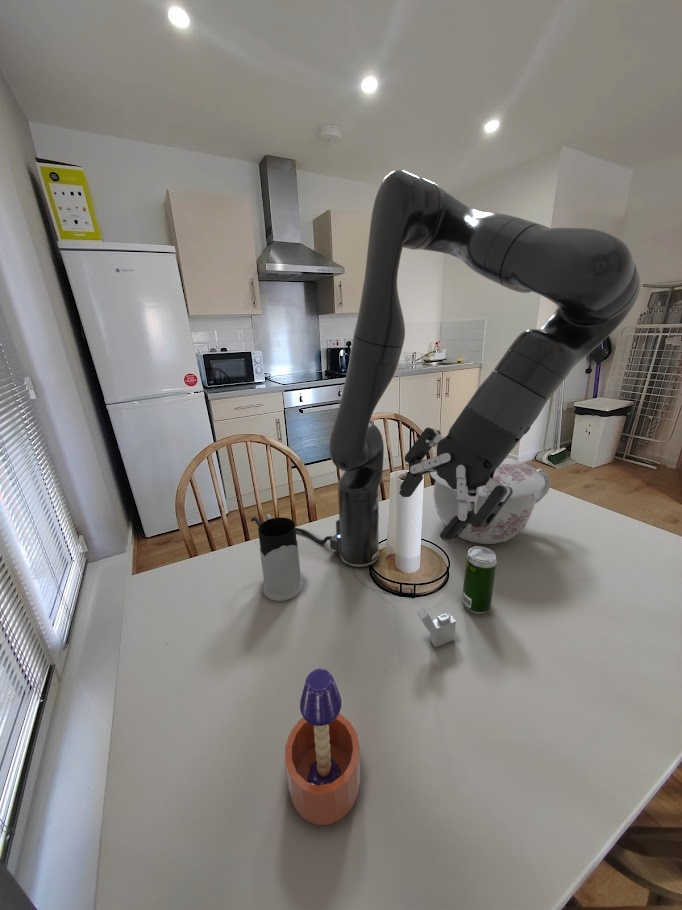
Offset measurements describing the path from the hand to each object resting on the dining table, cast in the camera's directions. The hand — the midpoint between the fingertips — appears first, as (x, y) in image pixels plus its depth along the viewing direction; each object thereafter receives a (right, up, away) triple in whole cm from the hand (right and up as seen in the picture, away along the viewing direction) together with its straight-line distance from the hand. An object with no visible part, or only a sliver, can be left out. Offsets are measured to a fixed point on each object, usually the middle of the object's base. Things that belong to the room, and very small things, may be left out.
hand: (423, 515), depth 49 cm
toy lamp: (-13, -32, -5) cm, 35 cm away
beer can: (+15, -22, +21) cm, 34 cm away
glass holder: (-25, -20, +31) cm, 44 cm away
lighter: (+5, -25, +13) cm, 29 cm away
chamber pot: (+26, -12, +47) cm, 55 cm away
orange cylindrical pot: (-14, -32, -5) cm, 35 cm away
